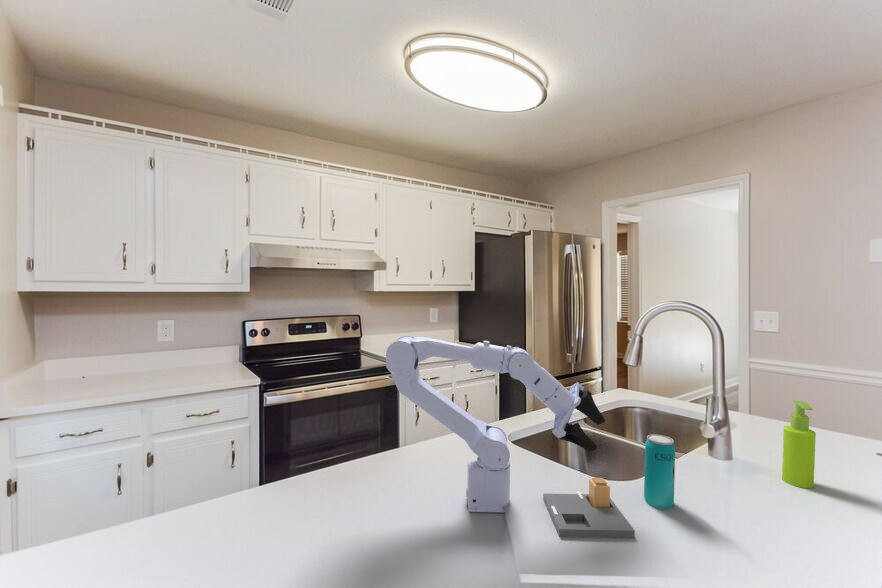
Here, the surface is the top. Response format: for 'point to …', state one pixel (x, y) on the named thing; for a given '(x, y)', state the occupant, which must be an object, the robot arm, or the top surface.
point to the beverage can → (659, 471)
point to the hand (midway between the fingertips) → (597, 435)
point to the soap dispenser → (799, 449)
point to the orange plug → (599, 493)
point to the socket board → (586, 517)
